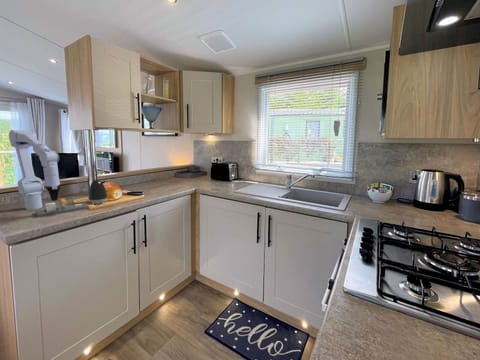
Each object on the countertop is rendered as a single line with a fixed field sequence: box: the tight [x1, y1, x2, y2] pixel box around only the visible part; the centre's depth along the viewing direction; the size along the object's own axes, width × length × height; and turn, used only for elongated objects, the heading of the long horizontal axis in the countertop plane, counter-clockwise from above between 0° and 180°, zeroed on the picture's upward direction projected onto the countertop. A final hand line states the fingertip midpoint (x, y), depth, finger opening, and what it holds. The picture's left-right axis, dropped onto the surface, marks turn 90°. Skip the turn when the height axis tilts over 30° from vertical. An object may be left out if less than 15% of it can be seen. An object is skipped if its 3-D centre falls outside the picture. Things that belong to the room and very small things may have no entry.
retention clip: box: [58, 197, 68, 205], centre depth 123 cm, size 2×9×2 cm, turn 47°
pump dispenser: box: [87, 179, 108, 205], centre depth 144 cm, size 10×10×15 cm
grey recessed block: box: [35, 201, 90, 218], centre depth 126 cm, size 9×22×6 cm, turn 135°
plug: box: [45, 201, 57, 212], centre depth 123 cm, size 4×4×5 cm
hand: (54, 200), depth 121 cm, fingers closed
